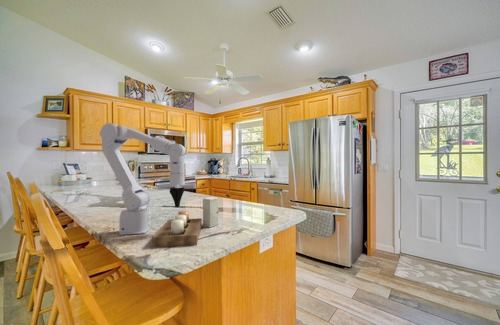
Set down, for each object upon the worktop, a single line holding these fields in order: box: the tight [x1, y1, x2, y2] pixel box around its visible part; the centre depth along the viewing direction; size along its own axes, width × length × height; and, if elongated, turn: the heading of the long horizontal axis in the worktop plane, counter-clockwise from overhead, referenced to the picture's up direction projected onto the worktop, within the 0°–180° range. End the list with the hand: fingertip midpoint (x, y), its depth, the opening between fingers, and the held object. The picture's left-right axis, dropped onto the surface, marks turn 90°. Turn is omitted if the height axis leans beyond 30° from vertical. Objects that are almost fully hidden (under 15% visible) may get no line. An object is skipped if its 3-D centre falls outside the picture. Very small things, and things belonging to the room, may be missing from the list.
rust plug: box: [177, 210, 190, 222], centre depth 90 cm, size 4×4×4 cm
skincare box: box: [202, 196, 219, 228], centre depth 95 cm, size 6×4×12 cm
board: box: [152, 217, 203, 248], centre depth 83 cm, size 14×22×3 cm, turn 9°
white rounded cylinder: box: [171, 219, 184, 234], centre depth 76 cm, size 4×4×4 cm
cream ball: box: [174, 214, 186, 227], centre depth 83 cm, size 4×4×4 cm
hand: (177, 206), depth 88 cm, fingers closed
